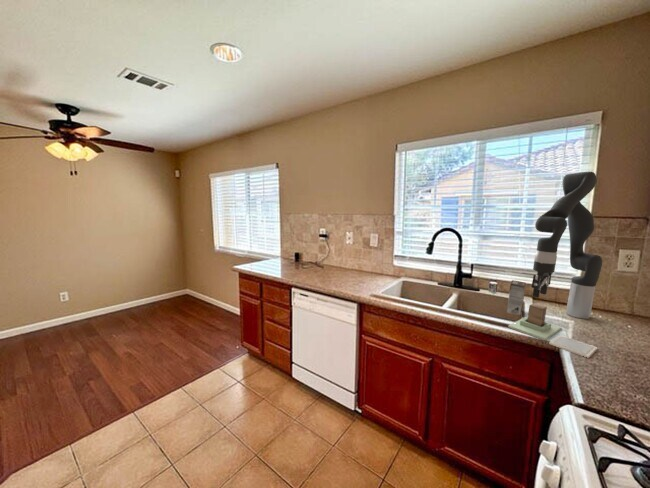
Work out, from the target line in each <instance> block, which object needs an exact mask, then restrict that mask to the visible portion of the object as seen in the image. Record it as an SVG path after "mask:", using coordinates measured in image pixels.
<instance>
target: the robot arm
mask: <svg viewBox="0 0 650 488" xmlns="http://www.w3.org/2000/svg"><path fill="white" fill-rule="evenodd" d="M597 182H598V180H597V174H596V173H595V172H593V171H580V172H573V173H568V174H565V175H564V176H563V179H562V190H563V195H564V196H562V197H559V198H558V199H557V200H556V201H555V202H554V204H553V205H552V207H551V208H550V209H549V210H547V211H546V212H544V213H542V215H540V216H539V217H538V218H537V220H536V221H535V222H534V223H535V225H534V226H535V229H536V231H538V232H541V233H547V234H548V233H549V234H552V235H551V236H547V237H540V238H539V239H538V241H537V246H536V252H535V254H534V260H533V261H534V262H533V266H532V269H533V271H535V272H536V274H533V277H532V281H531V282H532V283H531V289H533V291H532V297H533V298H540V294H541V295H547V292H548V288H549V286H550V285H551V280H552V276H553V275H552V274H554V273H555V271H556V264H557V257H558V256H557V255H558V254H557V253H558V246H559V244H560V240H561V238H562V236H563V235H564V233H565V231H566V229H567V227H568V232H569V242H570V243H569V244H570V245H569V263H570V266H571V268H573V269H574V270H576V271H581V272H582V271H583V272H584V274H583V275H578V276H577V275H576V276H573V277H571V280H570V281H571V282H570V286H569V287H570V288H569V292H568V299H567V304H566V311H565V314H566V315H568V316H571V317H573V318H577V319H582V320H584V319H585V320H587V319H590V318H591V313H592V309H593V308H592V307H593V302H594V297H595V292H596V286H597V284H598V281H599V277H600V275H601V270H602V266H603V258H602V257H601V256H600V255H598V254H594V253H587V252H584V245H585V242H586V241H587V240H588V239H589V238H590V237H591V235H592V234H593V232H594V231H595V220H594V215H593V214H592V213H591V211H589V208H586V206H585V205H583V203H581V201H582V200H583V199H584V198H586V197H587V195H589V194H590V193H591V192H592V191H593V190H594V188H595V187H596V185H597Z"/></svg>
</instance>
